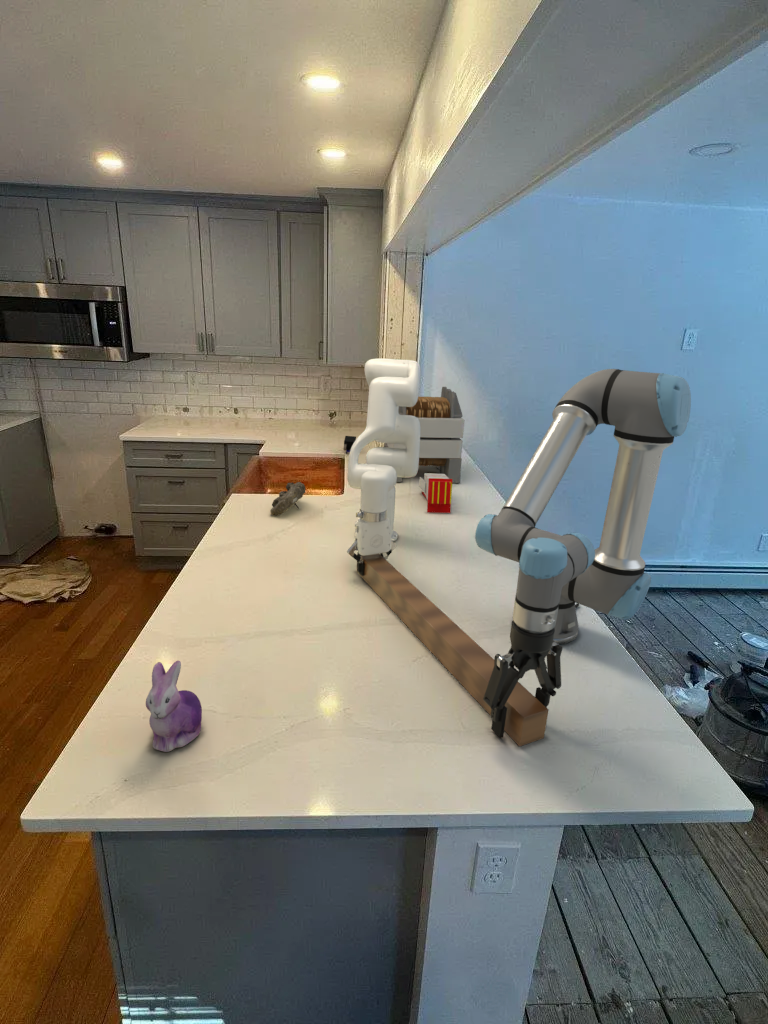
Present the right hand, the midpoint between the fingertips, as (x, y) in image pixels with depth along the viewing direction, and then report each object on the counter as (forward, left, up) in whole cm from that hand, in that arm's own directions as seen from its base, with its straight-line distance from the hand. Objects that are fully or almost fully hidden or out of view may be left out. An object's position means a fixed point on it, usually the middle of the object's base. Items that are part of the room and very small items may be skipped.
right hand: (517, 725), depth 109 cm
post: (-23, -26, 0) cm, 35 cm away
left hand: (-46, -51, +1) cm, 69 cm away
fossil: (-85, -104, 0) cm, 134 cm away
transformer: (-160, -76, 0) cm, 177 cm away
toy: (-122, -56, 0) cm, 134 cm away
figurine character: (-180, -124, 0) cm, 218 cm away
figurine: (+29, -56, 0) cm, 63 cm away
